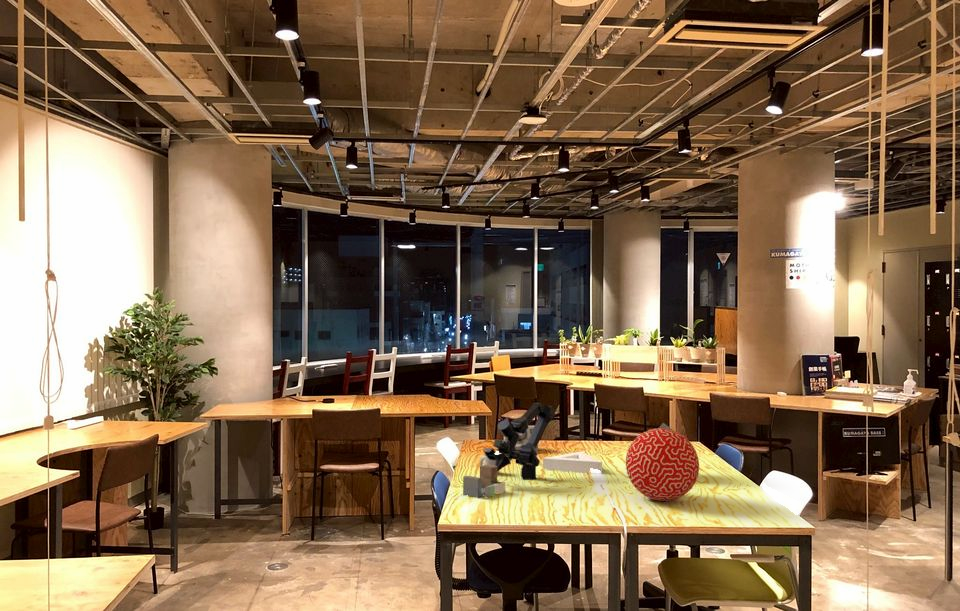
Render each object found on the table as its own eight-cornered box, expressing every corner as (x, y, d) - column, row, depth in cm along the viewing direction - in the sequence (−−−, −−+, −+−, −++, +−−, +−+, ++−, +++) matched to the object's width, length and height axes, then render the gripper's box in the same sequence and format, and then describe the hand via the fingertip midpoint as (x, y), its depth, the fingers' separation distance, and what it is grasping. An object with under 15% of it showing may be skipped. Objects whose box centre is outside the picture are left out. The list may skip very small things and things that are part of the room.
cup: (497, 475, 349) (497, 457, 349) (477, 474, 351) (477, 456, 352) (500, 472, 356) (500, 454, 356) (481, 471, 358) (481, 453, 359)
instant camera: (501, 454, 405) (501, 428, 405) (501, 448, 425) (501, 422, 426) (538, 454, 404) (538, 428, 404) (537, 448, 424) (537, 423, 425)
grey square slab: (466, 493, 311) (466, 475, 311) (481, 496, 306) (481, 478, 306) (463, 495, 309) (463, 476, 309) (477, 497, 304) (477, 479, 304)
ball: (620, 491, 317) (620, 423, 317) (688, 491, 316) (688, 423, 316) (632, 508, 287) (632, 433, 287) (708, 509, 286) (707, 434, 286)
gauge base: (486, 487, 323) (486, 478, 323) (506, 491, 316) (506, 481, 316) (466, 493, 311) (466, 483, 311) (486, 497, 304) (486, 487, 304)
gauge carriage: (486, 484, 321) (486, 464, 321) (506, 488, 314) (506, 467, 314) (479, 486, 317) (479, 466, 317) (499, 490, 310) (499, 469, 310)
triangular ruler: (542, 470, 362) (542, 458, 363) (554, 461, 387) (554, 449, 387) (601, 475, 353) (601, 462, 353) (609, 465, 377) (609, 453, 377)
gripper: (486, 430, 332) (471, 457, 323) (519, 434, 320) (505, 462, 311) (496, 445, 338) (482, 472, 329) (529, 449, 326) (515, 477, 317)
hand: (495, 471), depth 321 cm, fingers closed
